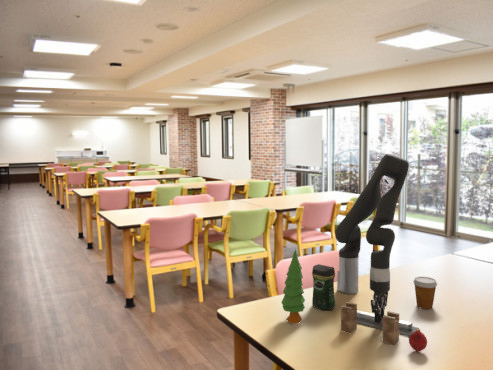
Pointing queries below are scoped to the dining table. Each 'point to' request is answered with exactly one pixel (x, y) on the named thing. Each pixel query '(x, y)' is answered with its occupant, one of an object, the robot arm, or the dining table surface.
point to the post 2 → (391, 328)
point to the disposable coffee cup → (425, 291)
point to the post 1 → (349, 317)
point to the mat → (380, 326)
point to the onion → (418, 340)
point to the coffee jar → (323, 287)
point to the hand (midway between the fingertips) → (379, 320)
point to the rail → (370, 317)
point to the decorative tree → (293, 291)
